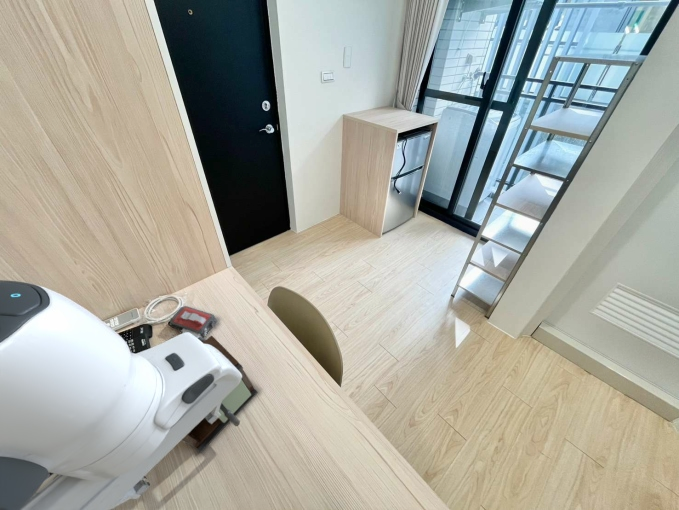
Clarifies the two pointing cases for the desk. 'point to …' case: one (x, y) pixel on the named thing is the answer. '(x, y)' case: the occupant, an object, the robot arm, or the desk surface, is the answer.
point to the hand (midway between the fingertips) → (180, 448)
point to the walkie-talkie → (193, 322)
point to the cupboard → (208, 431)
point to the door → (233, 403)
